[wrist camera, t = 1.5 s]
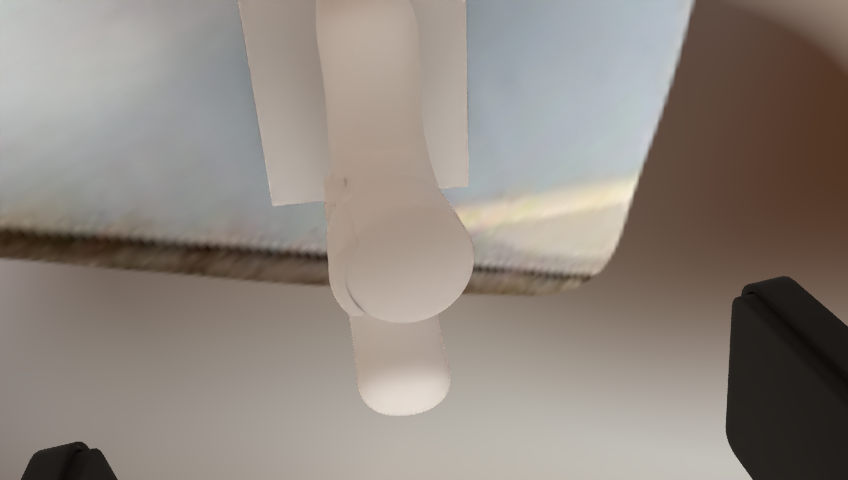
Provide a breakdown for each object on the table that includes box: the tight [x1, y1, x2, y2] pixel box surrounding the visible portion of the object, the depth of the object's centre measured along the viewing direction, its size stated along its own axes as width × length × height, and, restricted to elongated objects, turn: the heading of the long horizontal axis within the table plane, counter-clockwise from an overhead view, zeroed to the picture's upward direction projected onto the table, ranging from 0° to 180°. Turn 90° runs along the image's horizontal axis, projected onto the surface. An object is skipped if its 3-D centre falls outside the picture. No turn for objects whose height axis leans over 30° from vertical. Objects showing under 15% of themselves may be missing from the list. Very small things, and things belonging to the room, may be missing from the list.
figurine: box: [238, 0, 474, 416], centre depth 20 cm, size 7×9×15 cm
